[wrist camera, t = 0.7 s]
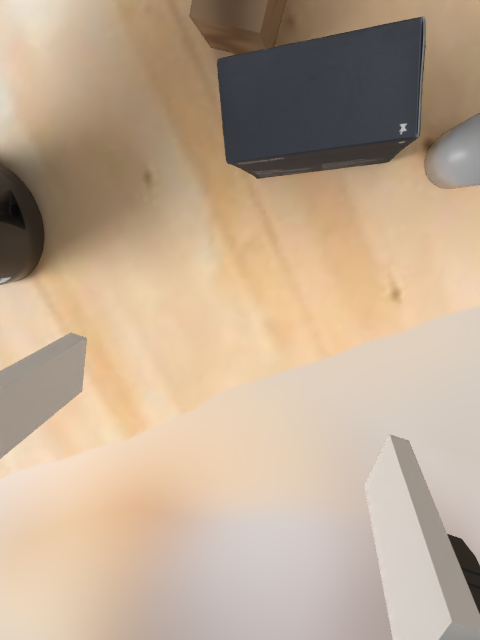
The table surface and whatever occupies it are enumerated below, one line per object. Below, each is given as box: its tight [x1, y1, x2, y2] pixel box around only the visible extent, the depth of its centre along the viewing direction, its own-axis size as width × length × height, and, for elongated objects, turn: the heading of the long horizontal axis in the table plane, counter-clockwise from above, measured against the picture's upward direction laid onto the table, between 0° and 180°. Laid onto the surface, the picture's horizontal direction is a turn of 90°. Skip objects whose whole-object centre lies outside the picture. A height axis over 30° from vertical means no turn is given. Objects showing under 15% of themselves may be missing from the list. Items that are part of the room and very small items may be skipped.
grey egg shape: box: [424, 113, 480, 189], centre depth 29 cm, size 5×5×7 cm
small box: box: [217, 17, 426, 179], centre depth 28 cm, size 13×7×12 cm, turn 96°
